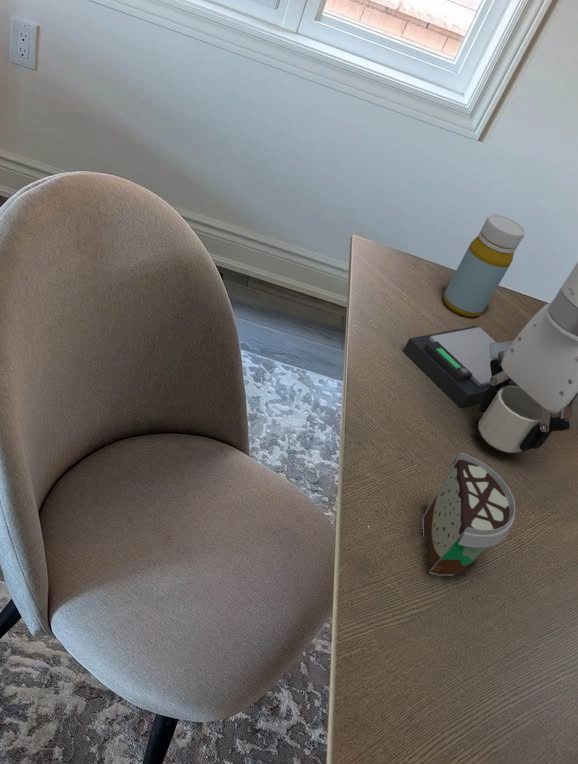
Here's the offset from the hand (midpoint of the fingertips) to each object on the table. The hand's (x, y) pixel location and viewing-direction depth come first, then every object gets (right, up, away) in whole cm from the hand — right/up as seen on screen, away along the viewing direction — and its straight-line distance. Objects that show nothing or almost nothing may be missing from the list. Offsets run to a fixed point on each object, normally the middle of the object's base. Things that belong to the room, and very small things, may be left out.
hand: (507, 427), depth 98 cm
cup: (0, -1, +1) cm, 2 cm away
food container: (-12, -15, -14) cm, 24 cm away
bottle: (+3, +22, +28) cm, 36 cm away
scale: (-1, +9, +14) cm, 17 cm away
